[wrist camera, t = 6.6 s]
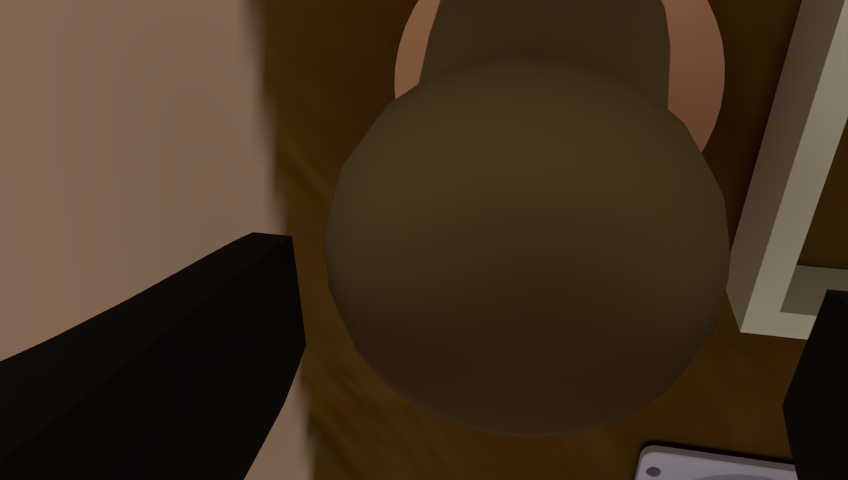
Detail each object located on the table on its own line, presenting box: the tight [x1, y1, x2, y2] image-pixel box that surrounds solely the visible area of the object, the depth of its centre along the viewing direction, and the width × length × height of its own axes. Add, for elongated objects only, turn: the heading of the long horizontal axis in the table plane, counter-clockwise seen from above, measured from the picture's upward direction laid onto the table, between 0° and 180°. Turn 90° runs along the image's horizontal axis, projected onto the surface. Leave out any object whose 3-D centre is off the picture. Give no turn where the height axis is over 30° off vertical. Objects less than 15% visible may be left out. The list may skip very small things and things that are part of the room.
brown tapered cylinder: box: [325, 0, 731, 438], centre depth 12 cm, size 6×6×11 cm
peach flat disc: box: [395, 0, 725, 152], centre depth 17 cm, size 8×8×1 cm
